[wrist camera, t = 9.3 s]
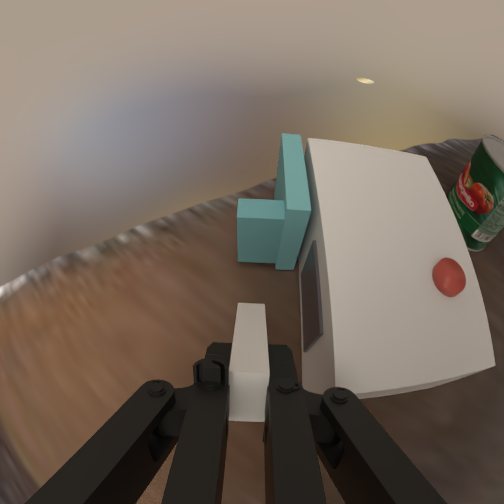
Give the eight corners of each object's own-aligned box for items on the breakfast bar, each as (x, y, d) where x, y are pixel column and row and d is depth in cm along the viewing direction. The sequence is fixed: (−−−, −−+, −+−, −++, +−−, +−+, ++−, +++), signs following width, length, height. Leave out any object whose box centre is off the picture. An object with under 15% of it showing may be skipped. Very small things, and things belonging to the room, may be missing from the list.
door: (289, 197, 28) (300, 134, 22) (293, 270, 24) (311, 210, 17) (242, 195, 28) (243, 131, 22) (238, 267, 24) (236, 206, 17)
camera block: (391, 201, 29) (422, 140, 21) (429, 387, 18) (501, 363, 11) (291, 192, 29) (304, 120, 21) (299, 403, 18) (335, 394, 11)
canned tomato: (427, 205, 29) (470, 133, 20) (461, 195, 30) (500, 134, 21) (464, 260, 25) (523, 195, 16) (494, 243, 27) (543, 186, 17)
